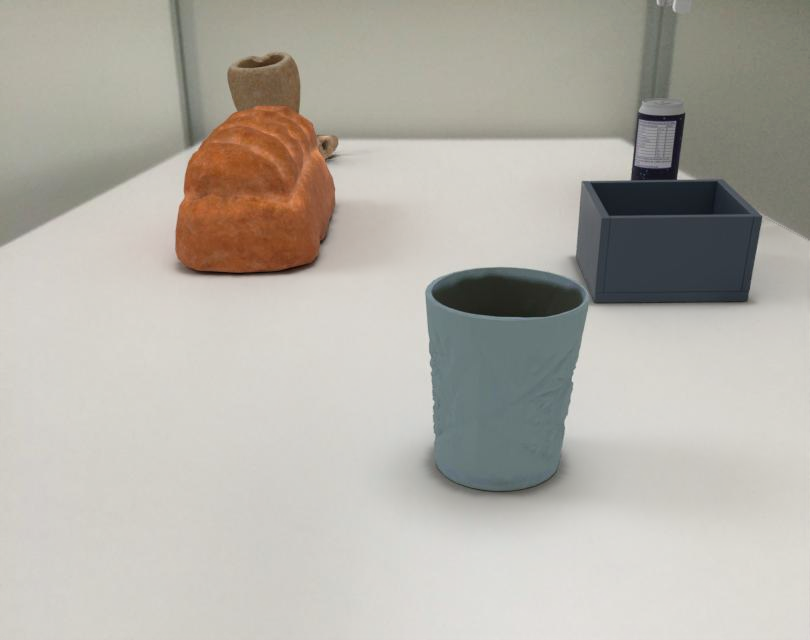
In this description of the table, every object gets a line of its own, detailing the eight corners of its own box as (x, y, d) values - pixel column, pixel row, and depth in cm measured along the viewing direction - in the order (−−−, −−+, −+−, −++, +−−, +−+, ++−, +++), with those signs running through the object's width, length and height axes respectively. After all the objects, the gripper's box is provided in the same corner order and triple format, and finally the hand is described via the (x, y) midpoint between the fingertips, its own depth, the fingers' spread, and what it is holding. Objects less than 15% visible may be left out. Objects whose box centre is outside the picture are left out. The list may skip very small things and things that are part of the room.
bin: (711, 256, 105) (723, 178, 100) (747, 301, 92) (763, 216, 88) (575, 257, 105) (581, 180, 101) (594, 302, 93) (601, 218, 88)
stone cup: (223, 169, 145) (210, 58, 137) (248, 152, 155) (238, 48, 147) (321, 171, 143) (314, 58, 135) (340, 154, 152) (335, 48, 144)
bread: (340, 200, 128) (335, 92, 121) (314, 274, 102) (305, 142, 95) (223, 201, 129) (211, 94, 122) (167, 275, 102) (147, 144, 95)
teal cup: (403, 444, 69) (400, 278, 62) (527, 417, 72) (536, 256, 66) (468, 511, 61) (472, 329, 55) (604, 476, 64) (622, 301, 58)
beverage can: (682, 205, 122) (696, 102, 116) (644, 210, 121) (656, 106, 114) (657, 195, 127) (669, 96, 120) (619, 200, 125) (629, 99, 119)
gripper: (745, -142, 96) (722, 17, 103) (698, -134, 113) (681, 2, 120) (680, -140, 96) (662, 18, 103) (643, -133, 113) (630, 2, 120)
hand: (672, 9), depth 112 cm, fingers open, 8 cm apart
